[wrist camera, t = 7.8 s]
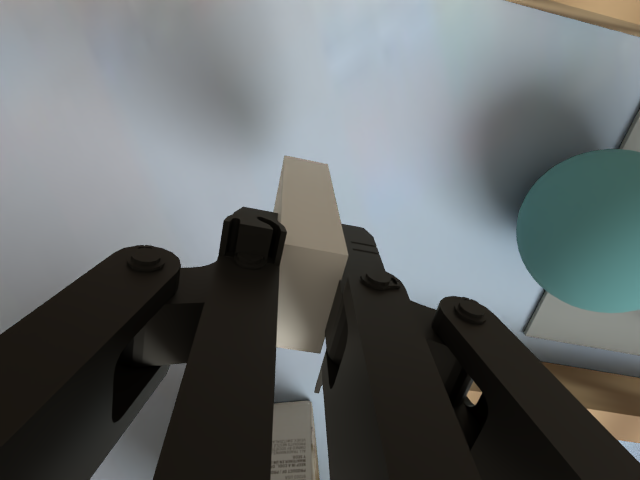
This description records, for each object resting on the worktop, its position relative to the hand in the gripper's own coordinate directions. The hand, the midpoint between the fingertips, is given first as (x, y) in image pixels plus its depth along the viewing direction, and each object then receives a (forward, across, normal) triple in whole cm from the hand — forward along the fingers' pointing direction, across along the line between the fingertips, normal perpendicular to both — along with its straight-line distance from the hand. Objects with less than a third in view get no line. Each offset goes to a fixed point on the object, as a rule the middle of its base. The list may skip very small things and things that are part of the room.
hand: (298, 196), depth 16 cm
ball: (0, -11, -1) cm, 11 cm away
